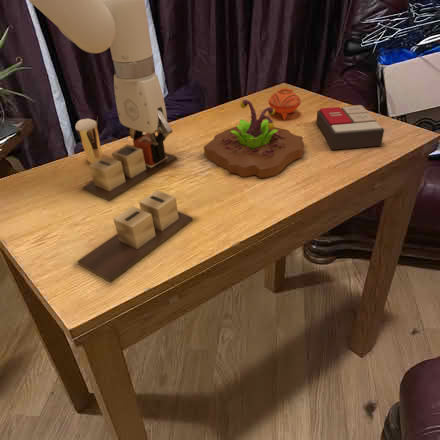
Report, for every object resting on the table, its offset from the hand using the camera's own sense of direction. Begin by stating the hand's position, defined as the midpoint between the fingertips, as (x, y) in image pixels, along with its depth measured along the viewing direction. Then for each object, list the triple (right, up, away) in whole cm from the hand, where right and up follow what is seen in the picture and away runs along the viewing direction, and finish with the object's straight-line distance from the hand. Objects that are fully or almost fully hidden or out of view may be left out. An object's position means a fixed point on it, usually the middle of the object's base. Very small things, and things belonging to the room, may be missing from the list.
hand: (150, 156), depth 93 cm
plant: (+23, +1, +1) cm, 23 cm away
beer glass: (-12, 0, +3) cm, 13 cm away
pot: (+31, +15, +15) cm, 38 cm away
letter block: (0, 0, 0) cm, 1 cm away
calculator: (+44, +7, +6) cm, 45 cm away
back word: (-4, -4, -2) cm, 6 cm away
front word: (+1, -21, -19) cm, 29 cm away
